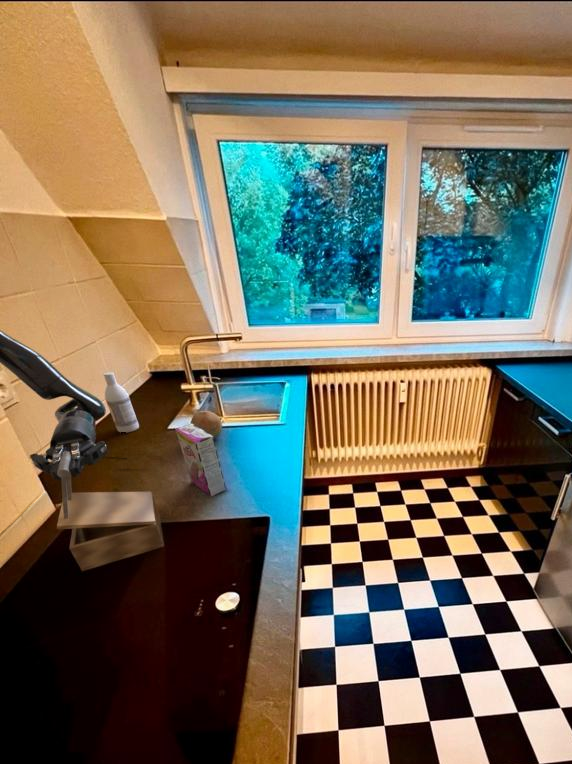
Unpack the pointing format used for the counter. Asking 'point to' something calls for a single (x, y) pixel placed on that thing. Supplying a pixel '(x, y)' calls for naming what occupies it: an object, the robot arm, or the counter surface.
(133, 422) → the bath foam
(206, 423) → the brown round ball
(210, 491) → the candy bar box
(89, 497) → the box lid
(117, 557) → the oak box
